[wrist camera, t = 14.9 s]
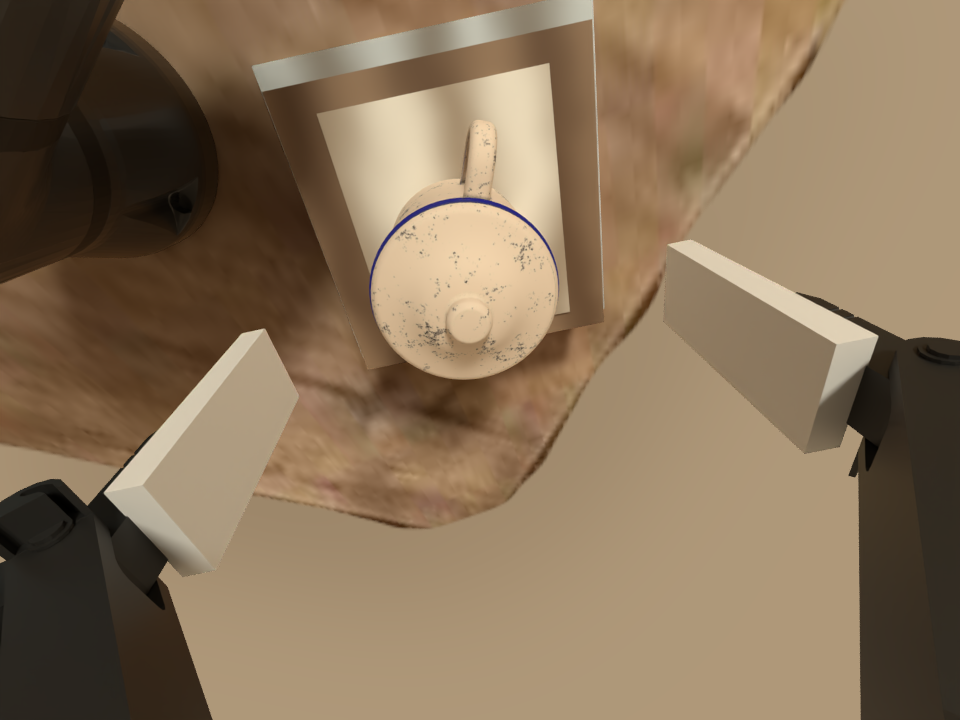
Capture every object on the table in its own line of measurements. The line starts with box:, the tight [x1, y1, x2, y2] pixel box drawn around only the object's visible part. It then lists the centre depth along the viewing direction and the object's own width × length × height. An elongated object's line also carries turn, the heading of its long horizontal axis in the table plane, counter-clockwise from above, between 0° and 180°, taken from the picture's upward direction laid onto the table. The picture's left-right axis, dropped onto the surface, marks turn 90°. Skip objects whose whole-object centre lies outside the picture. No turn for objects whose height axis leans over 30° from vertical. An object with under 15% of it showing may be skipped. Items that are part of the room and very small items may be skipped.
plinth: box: [252, 0, 604, 370], centre depth 30 cm, size 22×22×7 cm
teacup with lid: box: [369, 120, 559, 380], centre depth 22 cm, size 12×9×12 cm
